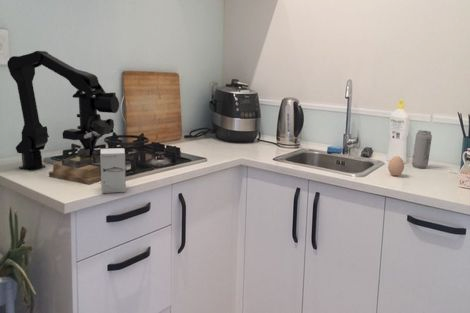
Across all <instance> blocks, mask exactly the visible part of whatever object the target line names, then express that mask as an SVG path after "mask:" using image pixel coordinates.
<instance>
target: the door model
mask: <svg viewBox="0 0 470 313" xmlns="http://www.w3.org/2000/svg"><path fill="white" fill-rule="evenodd" d="M77 157H78V156H77ZM77 157H76V156H71V157H66V158H63V159H61V161H57V162H55V163H54V162H53V163H52V171H49V172H48V178H49V177H50V178H54V179H55V178H56V179H60V180H65V181H70V182H74V183H79V184H85V185H93V184H95V183H98V182H101V163H100V155H98V152H97V151H95V150H94V151H93V154H92V156H90V157H91V163H89V159H84V160H80V161H73V160H69V159H73V158H77Z"/></svg>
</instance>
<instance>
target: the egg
mask: <svg viewBox="0 0 470 313" xmlns="http://www.w3.org/2000/svg"><path fill="white" fill-rule="evenodd" d="M387 169H388V172H389V174H391V175H392V176H395V177H397V176H400V175H401V174H402V173H403V172H404V170H405V163H404V160H403V158H402V157H401V156H399V155H395V156H393V157H391V159H390V160H389V161H388V165H387Z"/></svg>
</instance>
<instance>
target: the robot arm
mask: <svg viewBox="0 0 470 313" xmlns="http://www.w3.org/2000/svg"><path fill="white" fill-rule="evenodd" d="M41 66H43V67H45V68H47V69H49V70H50V71H52V72H54V73H55V74H58V75H60V76H61V77H63V78H64V79H66V80H67V81H69V83H70V85H71V86H72V87H73V88H74V89H76V91H75V93H74V94H72V98H73V99H74V98H76V99H78V109H79V110H78V111H79V113H77V114H76V117H77V118H79V125H76V126H77V129H76V128H70V129H64V130H63V131H62V139H65V140H71V141H79V142H80V144H81V146H82V148H87V149H89V150H90V156H92V154H93V151H95V148H96V144H97V141H98V140H99V139H101V138H102V137H103V136H105V135H110V133H111V134H112V133H114V130H115V122H114V119H112V118H108V119H102V118H101V114H100V113H110V114H116V113H118V112H119V109H120V102H119V98H118V97H117V95H116V94H117V93H116V92H106V91H105V89H104V88H103V87H102V85H101V84H100V82H99V78H98V77H97V76H96V75H95V74H93V73H91V72H88V71H84V70H80V69H78V68H75V67H73V66H72V65H69V64H68V63H66V62H64V61H62V60H60V59H59V58H57V57H55V56H53V55H51V54H50V53H49V52H47V51H45V50H35V51H33V52H31V53H27V54H22V55H19V56H17V55H16V56H15V55H13V56H11V57H9V59H8V60H7V68H8V71H9V74H10V76H11V77H12V79H13V80H14V82H15V83H16V86H17V92H18V97H19V102H20V106H21V112H22V119H23V127H22V130H21V141H20V142H19V143H18V144H17V145H16V146H15V151H16V153H17V154H21V162H22V164H21V165H20V166H18V168H19V169H22V170H27V171H34V170H38V169H42V168H45V167H46V164H43V157H42V151H43V150H45V147H46V144H47V143H48V141H49V138H50V135H49V133H48V127H47V126H46V125H45V126H43V125H42V124H41V122H40V117H39V112H38V106H37V100H36V96H35V91H34V85H33V84H34V82H33V81H34V78H35V75H36V68H39V67H41Z"/></svg>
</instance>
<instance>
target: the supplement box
mask: <svg viewBox="0 0 470 313" xmlns="http://www.w3.org/2000/svg"><path fill="white" fill-rule="evenodd" d="M125 150H126V149H125V148H124V147H123V148H100V150H99V151H100V163H101V181H100V185H101V186H100V189H101V190H100V191H101V194H107V193H108V194H109V193H126V190H127V187H126V186H127V185H126V152H125Z"/></svg>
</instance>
